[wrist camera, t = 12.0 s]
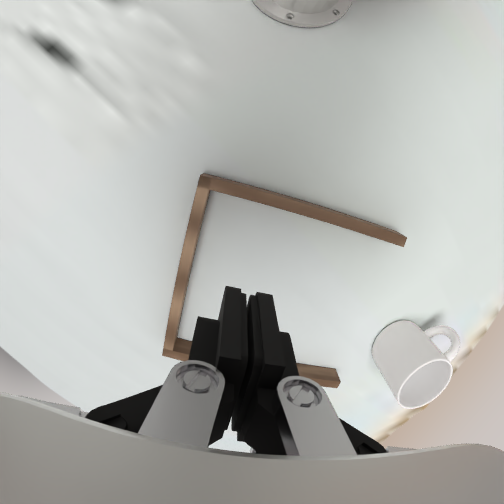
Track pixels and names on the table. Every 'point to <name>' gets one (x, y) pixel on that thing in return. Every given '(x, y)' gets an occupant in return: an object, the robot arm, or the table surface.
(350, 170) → the table surface
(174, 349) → the open wooden rail frame
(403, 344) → the mug
